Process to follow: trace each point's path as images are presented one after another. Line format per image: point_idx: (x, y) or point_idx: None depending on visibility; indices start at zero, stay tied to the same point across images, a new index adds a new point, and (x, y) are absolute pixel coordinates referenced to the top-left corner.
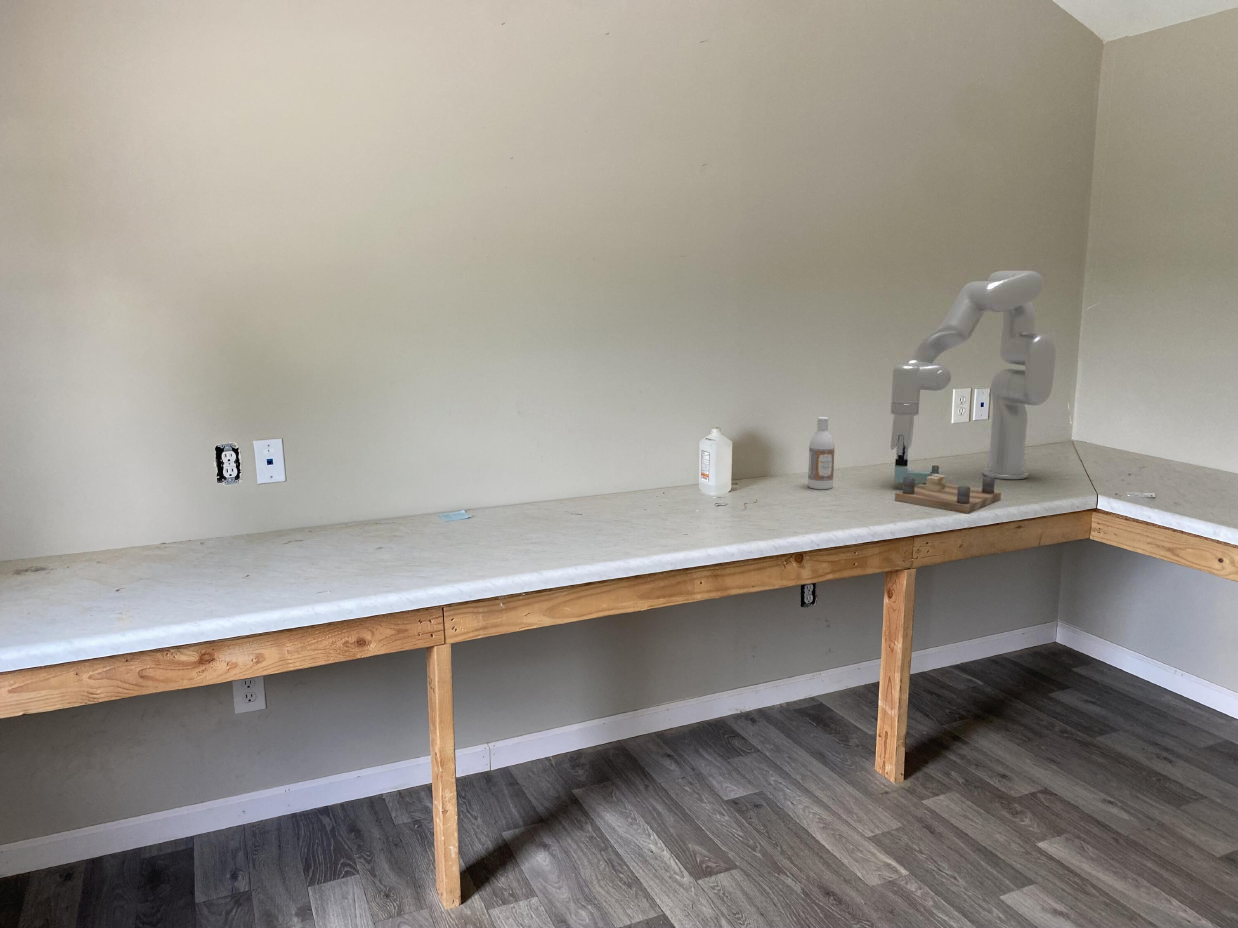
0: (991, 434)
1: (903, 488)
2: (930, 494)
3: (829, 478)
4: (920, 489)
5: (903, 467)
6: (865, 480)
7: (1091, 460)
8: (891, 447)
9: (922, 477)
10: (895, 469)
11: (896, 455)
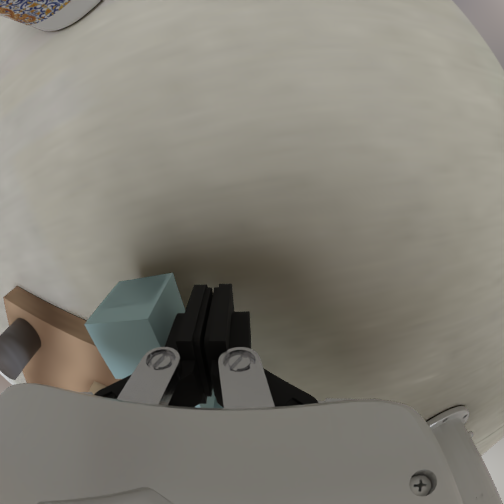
0: (470, 487)
1: (7, 328)
2: (58, 384)
3: (21, 22)
4: (87, 368)
5: (124, 362)
6: (287, 87)
7: (487, 439)
8: (3, 394)
9: None
10: (89, 318)
11: (134, 375)
